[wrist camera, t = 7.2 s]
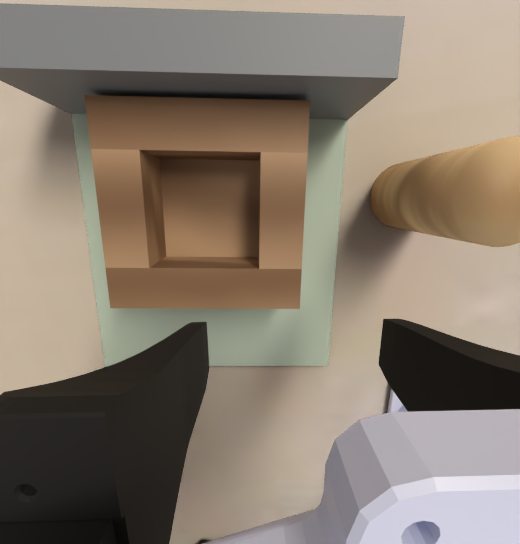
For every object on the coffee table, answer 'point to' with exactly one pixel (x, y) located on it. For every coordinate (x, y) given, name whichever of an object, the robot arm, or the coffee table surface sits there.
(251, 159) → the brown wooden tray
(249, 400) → the coffee table surface
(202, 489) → the coffee table surface
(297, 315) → the sage rubber mat
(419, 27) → the coffee table surface
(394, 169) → the oak dowel
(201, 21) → the slate stop wall
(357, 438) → the robot arm
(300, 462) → the coffee table surface
